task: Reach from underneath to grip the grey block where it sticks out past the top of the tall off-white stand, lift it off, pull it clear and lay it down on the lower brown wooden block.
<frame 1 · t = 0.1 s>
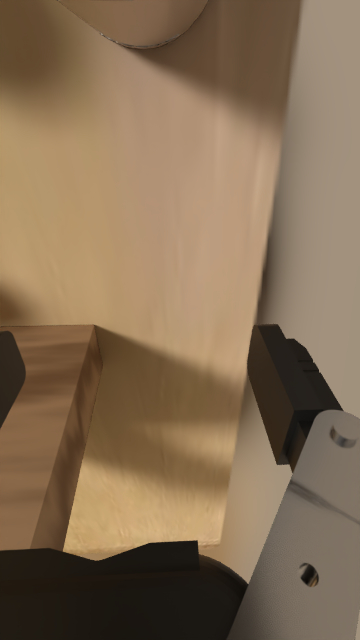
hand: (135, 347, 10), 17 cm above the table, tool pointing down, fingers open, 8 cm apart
brown wooden block: (12, 348, 33), on the table
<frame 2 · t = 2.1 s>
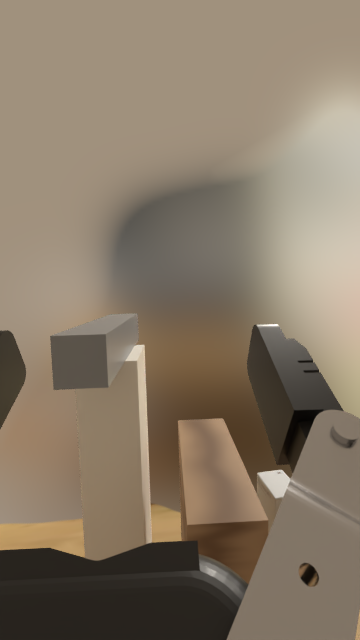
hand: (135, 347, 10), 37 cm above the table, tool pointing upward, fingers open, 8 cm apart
skincare box: (279, 562, 44), on the table
grey block: (110, 356, 35), point 32 cm above the table, touching tall stand
tall stand: (125, 598, 39), on the table
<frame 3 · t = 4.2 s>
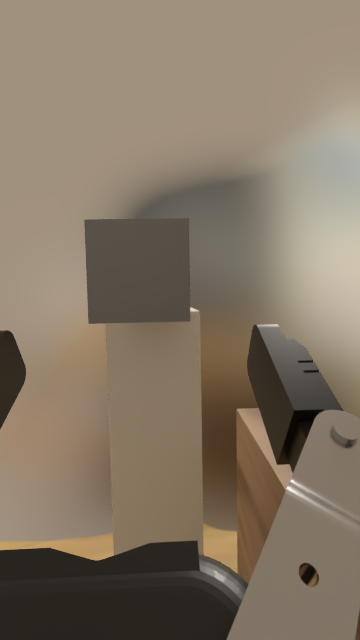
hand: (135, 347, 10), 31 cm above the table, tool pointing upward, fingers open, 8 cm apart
grey block: (154, 310, 24), point 32 cm above the table, touching tall stand
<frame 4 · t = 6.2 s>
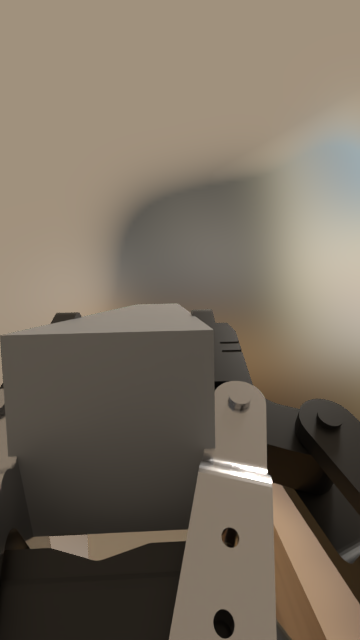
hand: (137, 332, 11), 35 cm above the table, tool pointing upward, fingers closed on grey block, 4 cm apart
grey block: (151, 376, 18), point 32 cm above the table, touching gripper, tall stand
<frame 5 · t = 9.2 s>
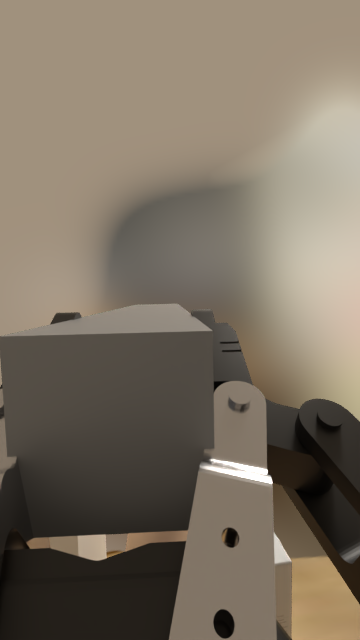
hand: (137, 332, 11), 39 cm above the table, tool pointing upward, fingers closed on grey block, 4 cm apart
skincare box: (263, 638, 36), on the table
grey block: (150, 376, 18), point 36 cm above the table, touching gripper
when the fingers open (27 cm above the table, at t = 12.0 s): grey block drops 2 cm, resting on brown wooden block.
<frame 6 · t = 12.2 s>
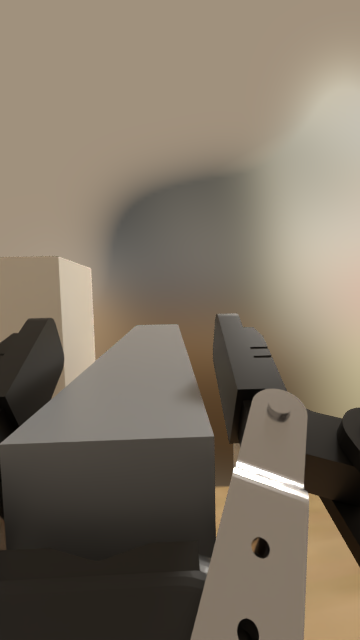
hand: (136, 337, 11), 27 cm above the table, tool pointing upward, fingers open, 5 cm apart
grey block: (151, 410, 18), point 22 cm above the table, touching brown wooden block
tall stand: (60, 583, 31), on the table
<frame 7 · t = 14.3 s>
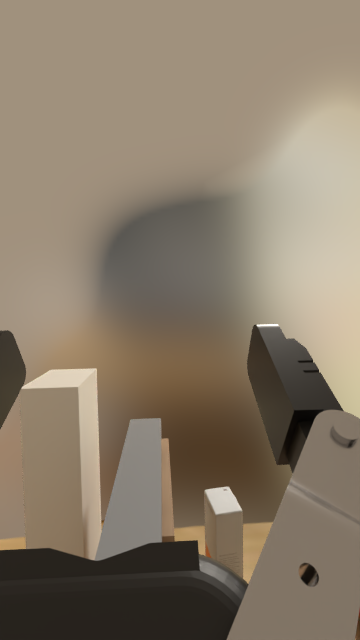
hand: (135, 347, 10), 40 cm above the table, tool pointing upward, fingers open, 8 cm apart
skincare box: (223, 576, 46), on the table
grey block: (140, 507, 29), point 22 cm above the table, touching brown wooden block
tall stand: (71, 612, 41), on the table
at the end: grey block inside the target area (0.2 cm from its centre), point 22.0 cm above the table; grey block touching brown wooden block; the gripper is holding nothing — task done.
